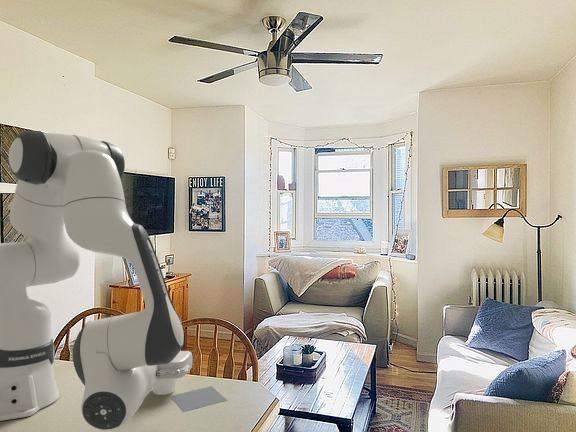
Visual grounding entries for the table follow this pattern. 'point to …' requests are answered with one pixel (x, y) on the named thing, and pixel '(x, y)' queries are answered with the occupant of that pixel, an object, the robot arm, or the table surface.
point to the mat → (197, 398)
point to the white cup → (164, 386)
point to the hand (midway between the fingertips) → (152, 352)
